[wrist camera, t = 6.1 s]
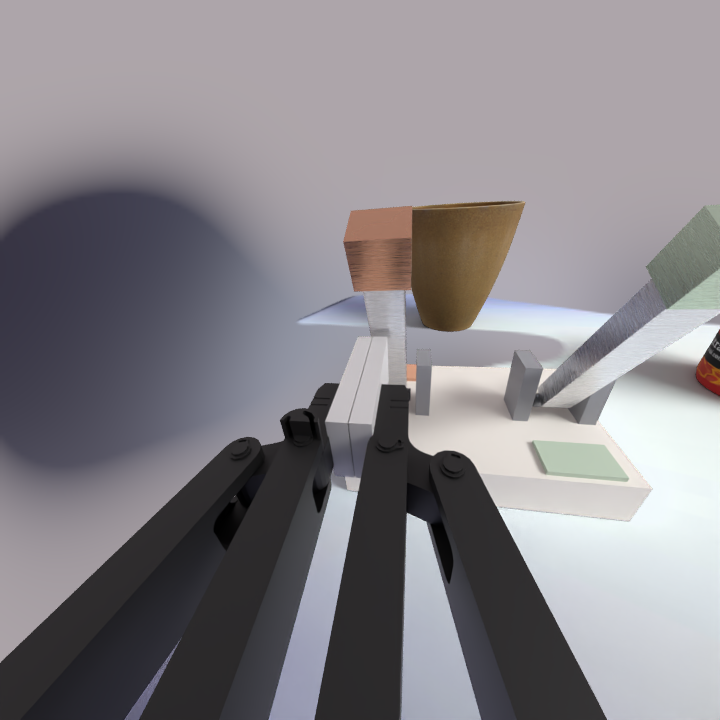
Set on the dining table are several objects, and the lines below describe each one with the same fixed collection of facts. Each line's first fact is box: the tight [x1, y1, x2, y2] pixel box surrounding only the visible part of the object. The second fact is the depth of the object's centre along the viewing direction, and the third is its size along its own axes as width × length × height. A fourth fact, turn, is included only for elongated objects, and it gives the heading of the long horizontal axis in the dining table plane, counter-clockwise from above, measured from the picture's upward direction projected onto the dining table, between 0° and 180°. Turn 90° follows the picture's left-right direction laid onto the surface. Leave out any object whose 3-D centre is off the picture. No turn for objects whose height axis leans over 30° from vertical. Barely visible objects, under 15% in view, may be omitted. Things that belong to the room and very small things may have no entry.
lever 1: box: [343, 206, 412, 401], centre depth 16 cm, size 2×2×15 cm
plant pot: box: [411, 201, 525, 332], centre depth 39 cm, size 15×15×16 cm
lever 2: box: [532, 205, 720, 409], centre depth 14 cm, size 2×2×15 cm
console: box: [345, 349, 652, 521], centre depth 21 cm, size 17×12×7 cm
